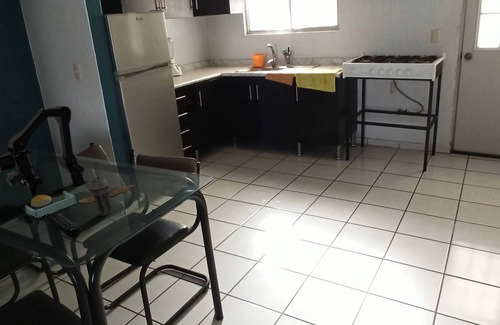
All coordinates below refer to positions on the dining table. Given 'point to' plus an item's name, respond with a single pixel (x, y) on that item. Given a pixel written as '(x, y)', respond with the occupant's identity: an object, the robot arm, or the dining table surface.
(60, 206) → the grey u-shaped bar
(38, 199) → the bread roll
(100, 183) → the beverage cup
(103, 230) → the dining table surface
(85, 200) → the brown carved slab
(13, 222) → the dining table surface
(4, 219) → the dining table surface
